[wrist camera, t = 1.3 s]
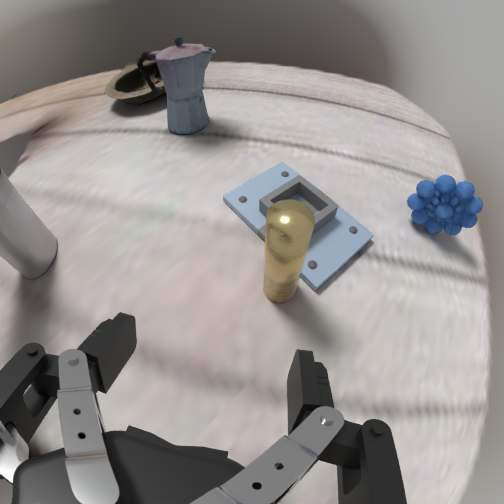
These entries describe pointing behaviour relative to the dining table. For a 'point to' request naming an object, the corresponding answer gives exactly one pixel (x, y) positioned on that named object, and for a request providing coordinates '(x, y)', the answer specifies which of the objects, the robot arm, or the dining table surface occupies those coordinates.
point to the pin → (286, 247)
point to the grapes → (445, 205)
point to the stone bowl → (135, 83)
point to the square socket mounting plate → (324, 209)
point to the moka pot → (181, 83)
